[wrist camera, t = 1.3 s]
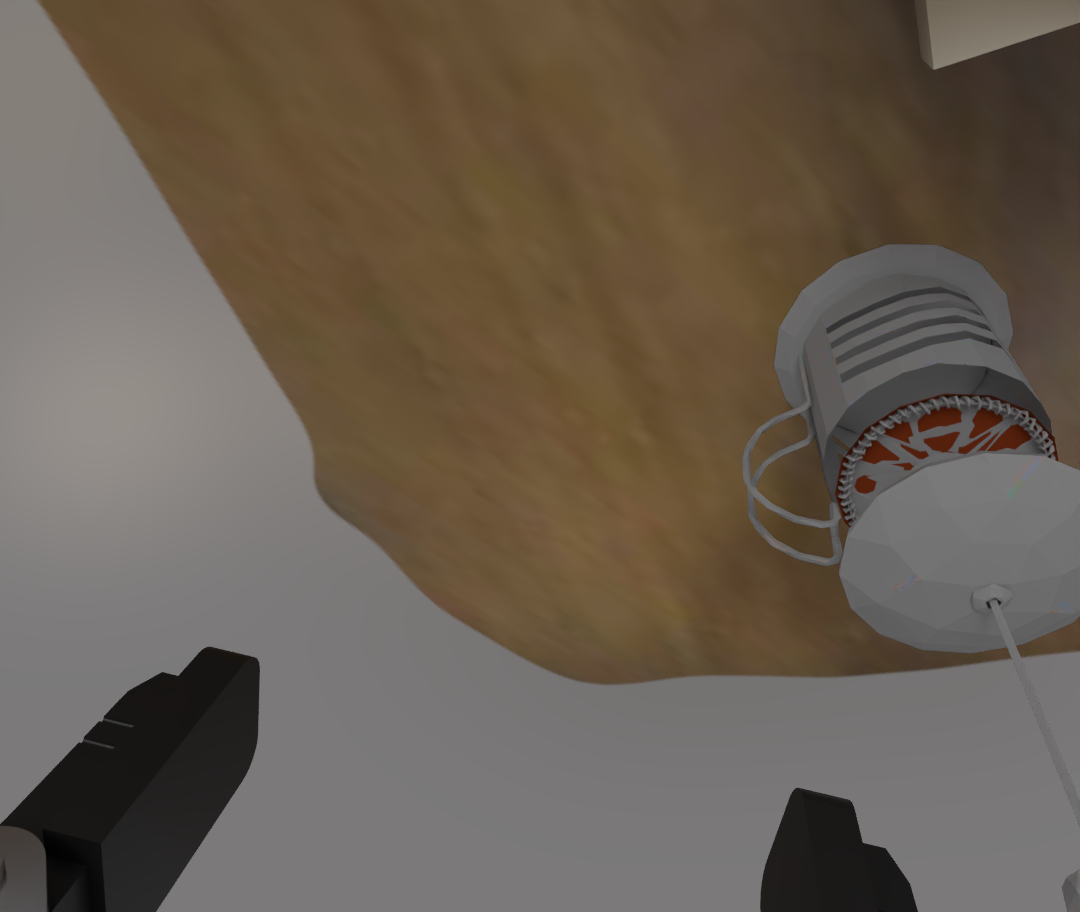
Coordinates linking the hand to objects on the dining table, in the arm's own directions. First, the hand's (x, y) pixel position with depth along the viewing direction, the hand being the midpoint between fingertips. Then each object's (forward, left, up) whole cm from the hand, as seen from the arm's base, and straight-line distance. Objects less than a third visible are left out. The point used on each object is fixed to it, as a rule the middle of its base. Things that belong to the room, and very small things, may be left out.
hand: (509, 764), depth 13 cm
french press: (+11, +8, -28) cm, 31 cm away
